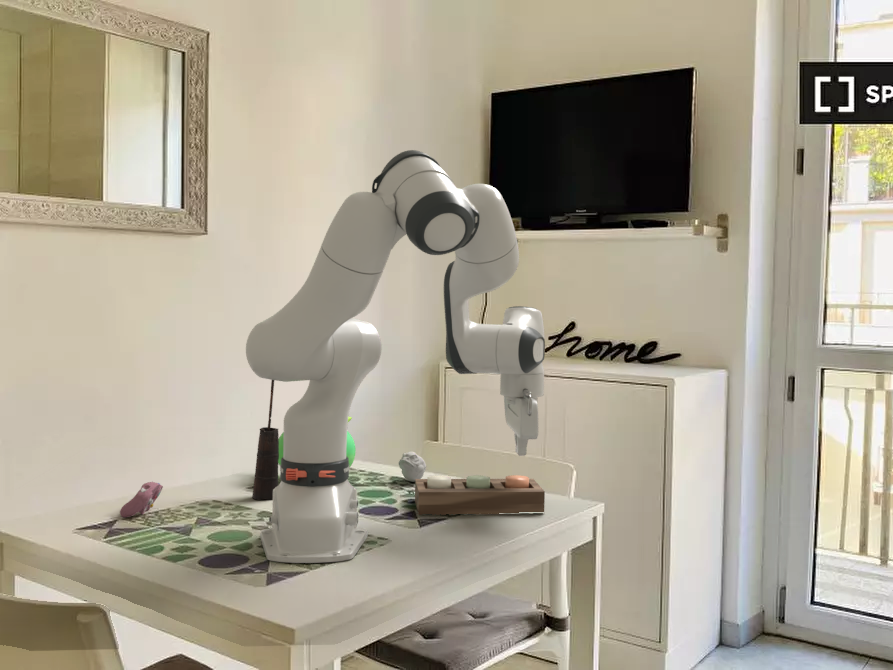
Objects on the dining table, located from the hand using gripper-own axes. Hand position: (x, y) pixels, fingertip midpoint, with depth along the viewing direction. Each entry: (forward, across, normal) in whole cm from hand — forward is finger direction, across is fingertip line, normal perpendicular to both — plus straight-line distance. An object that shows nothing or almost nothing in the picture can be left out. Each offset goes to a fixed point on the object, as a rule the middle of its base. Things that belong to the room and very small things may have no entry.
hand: (520, 454), depth 183 cm
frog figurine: (+11, +24, +21) cm, 34 cm away
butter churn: (+11, +8, +53) cm, 54 cm away
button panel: (+11, +1, +9) cm, 14 cm away
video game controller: (+11, -3, +74) cm, 75 cm away
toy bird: (+11, +26, +43) cm, 51 cm away
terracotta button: (+8, +1, 0) cm, 8 cm away
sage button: (+7, +1, +8) cm, 11 cm away
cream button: (+7, 0, +16) cm, 18 cm away
